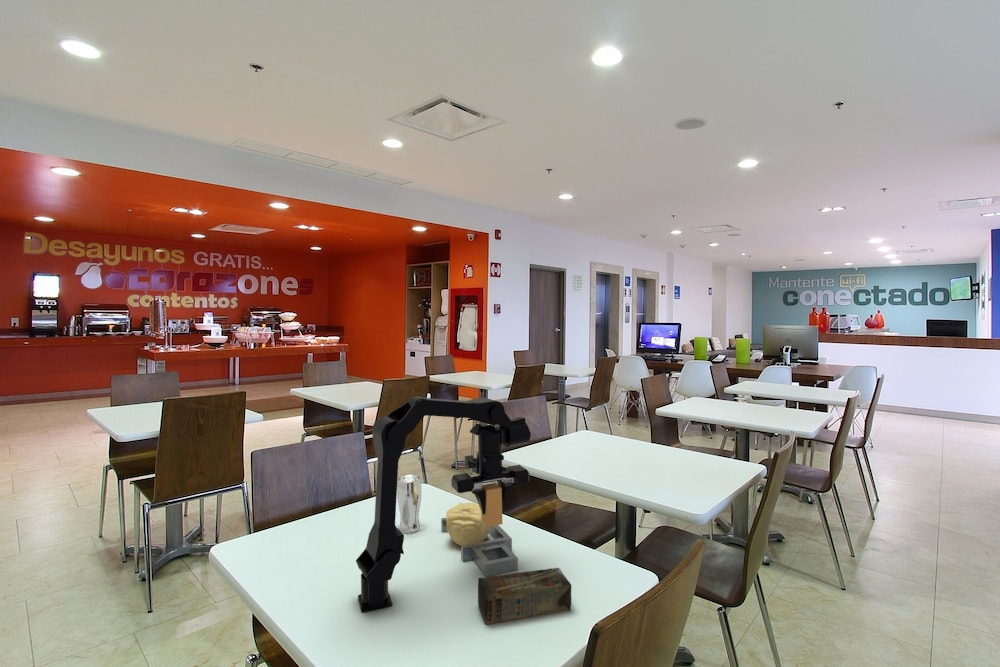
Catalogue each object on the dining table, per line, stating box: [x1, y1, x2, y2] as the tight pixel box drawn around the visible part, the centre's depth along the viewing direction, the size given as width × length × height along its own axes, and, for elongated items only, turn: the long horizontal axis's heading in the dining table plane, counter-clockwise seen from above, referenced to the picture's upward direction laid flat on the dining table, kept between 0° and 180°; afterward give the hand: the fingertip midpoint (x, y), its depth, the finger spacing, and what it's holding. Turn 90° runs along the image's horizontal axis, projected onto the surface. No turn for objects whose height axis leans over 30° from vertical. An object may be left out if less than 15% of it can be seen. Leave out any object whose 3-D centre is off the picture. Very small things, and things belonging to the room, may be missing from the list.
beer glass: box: [396, 474, 422, 534], centre depth 146 cm, size 7×7×15 cm
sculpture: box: [445, 502, 489, 547], centre depth 138 cm, size 12×12×11 cm
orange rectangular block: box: [481, 482, 503, 527], centre depth 124 cm, size 4×4×9 cm
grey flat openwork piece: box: [440, 517, 519, 577], centre depth 134 cm, size 29×14×4 cm, turn 22°
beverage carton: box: [477, 567, 572, 625], centre depth 107 cm, size 8×19×7 cm, turn 105°
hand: (491, 512), depth 124 cm, fingers closed on orange rectangular block, 4 cm apart
